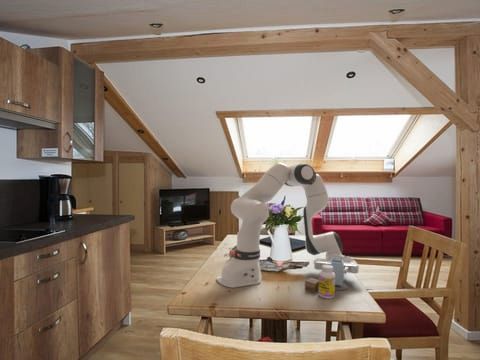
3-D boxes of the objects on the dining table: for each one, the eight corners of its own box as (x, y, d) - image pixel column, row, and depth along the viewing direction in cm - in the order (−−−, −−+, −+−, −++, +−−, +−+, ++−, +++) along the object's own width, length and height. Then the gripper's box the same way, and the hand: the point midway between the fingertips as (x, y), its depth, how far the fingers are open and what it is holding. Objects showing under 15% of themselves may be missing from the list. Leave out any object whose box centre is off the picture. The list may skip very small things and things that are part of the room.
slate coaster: (338, 292, 133) (338, 291, 133) (320, 285, 141) (320, 283, 141) (352, 287, 139) (352, 286, 138) (333, 280, 147) (334, 279, 147)
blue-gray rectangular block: (330, 284, 138) (330, 262, 137) (329, 279, 143) (330, 258, 143) (343, 285, 136) (343, 263, 136) (342, 281, 142) (342, 260, 141)
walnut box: (314, 292, 132) (314, 283, 132) (304, 289, 136) (305, 280, 135) (320, 289, 136) (320, 280, 135) (310, 286, 139) (311, 277, 139)
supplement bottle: (315, 295, 129) (316, 265, 129) (323, 291, 134) (324, 262, 133) (329, 300, 124) (330, 269, 124) (337, 296, 129) (338, 266, 128)
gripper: (314, 254, 154) (313, 262, 141) (356, 257, 149) (360, 266, 136) (313, 266, 155) (313, 275, 141) (356, 270, 150) (359, 280, 136)
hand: (336, 271), depth 139 cm, fingers open, 6 cm apart
